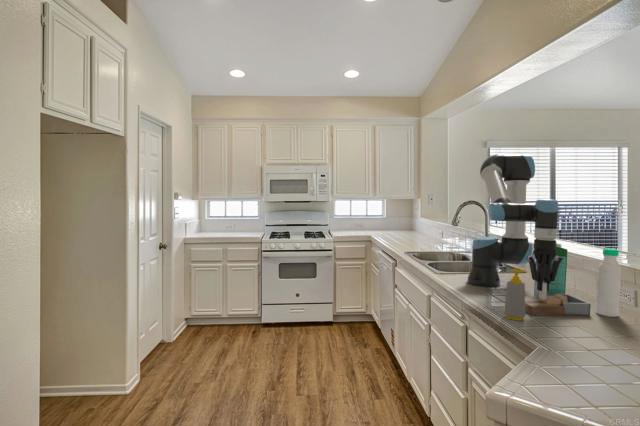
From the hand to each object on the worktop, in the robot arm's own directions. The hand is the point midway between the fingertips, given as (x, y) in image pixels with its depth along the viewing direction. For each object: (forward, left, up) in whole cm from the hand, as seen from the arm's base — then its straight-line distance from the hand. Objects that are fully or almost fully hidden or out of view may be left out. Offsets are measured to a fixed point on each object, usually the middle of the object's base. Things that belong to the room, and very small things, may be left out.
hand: (542, 298), depth 152 cm
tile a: (0, +3, -1) cm, 3 cm away
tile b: (0, +7, -1) cm, 7 cm away
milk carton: (-14, +11, -5) cm, 18 cm away
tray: (0, +9, -4) cm, 10 cm away
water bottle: (+5, +22, -5) cm, 23 cm away
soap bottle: (+11, -16, -5) cm, 20 cm away
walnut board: (0, -2, -4) cm, 5 cm away
